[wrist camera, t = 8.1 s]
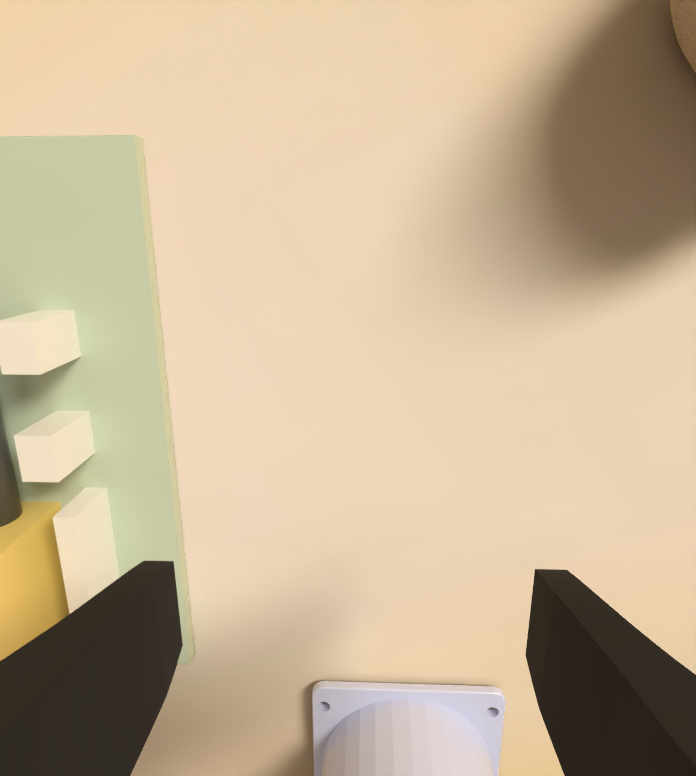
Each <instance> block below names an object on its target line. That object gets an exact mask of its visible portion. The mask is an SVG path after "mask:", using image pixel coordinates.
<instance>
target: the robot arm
mask: <svg viewBox="0 0 696 776" xmlns="http://www.w3.org/2000/svg"><path fill="white" fill-rule="evenodd" d="M182 646H183V643H182V634H181V624H180V615H179V606H178V597H177V588H176V579H175V569H174V561H143V562H141V563H140V564H138V565H136V566H135V567H134V568H132V569H131V570H129V571H128V572H126V573H125V574H124V575H122V576H121V577H120V578H118V579H117V580H115V581H114V582H113V583H111V584H110V585H109V586H107V587H106V588H105V589H103V590H102V591H101V592H99V593H98V594H97V595H95V596H94V597H92V598H91V599H90V600H88V601H87V602H86V603H84V604H83V605H81V606H80V607H79V608H77V609H76V610H75V611H73V612H72V613H70V614H69V615H68V616H66V617H65V618H63V619H62V620H61V621H59V622H58V623H56V624H55V625H54V626H52V627H51V628H49V629H48V630H46V631H45V632H43V633H42V634H40V635H39V636H37V637H36V638H34V639H33V640H31V641H30V642H28V643H27V644H25V645H24V646H22V647H21V648H19V649H18V650H16V651H15V652H13V653H12V654H10V655H9V656H7V657H6V658H4V659H3V660H1V661H0V776H130V775H131V772H132V770H133V768H134V766H135V764H136V762H137V760H138V757H139V755H140V753H141V751H142V749H143V747H144V744H145V742H146V740H147V738H148V736H149V734H150V731H151V729H152V727H153V725H154V723H155V720H156V718H157V716H158V714H159V712H160V709H161V707H162V705H163V703H164V700H165V698H166V696H167V693H168V690H169V687H170V684H171V681H172V678H173V675H174V672H175V669H176V665H177V662H178V659H179V656H180V652H181V649H182ZM526 658H527V662H528V666H529V671H530V675H531V679H532V683H533V687H534V691H535V694H536V698H537V702H538V706H539V709H540V712H541V714H542V717H543V720H544V723H545V725H546V728H547V730H548V733H549V736H550V738H551V741H552V744H553V746H554V749H555V752H556V754H557V757H558V759H559V762H560V765H561V767H562V770H563V772H564V775H565V776H696V675H695V674H694V673H692V672H691V671H690V670H688V669H687V668H686V667H684V666H683V665H682V664H680V663H679V662H678V661H676V660H675V659H674V658H673V657H671V656H670V655H669V654H667V653H666V652H665V651H664V650H662V649H661V648H660V647H659V646H657V645H656V644H655V643H654V642H652V641H651V640H650V639H649V638H647V637H646V636H645V635H644V634H642V633H641V632H640V631H639V630H638V629H636V628H635V627H634V626H633V625H632V624H630V623H629V622H628V621H627V620H626V619H624V618H623V617H622V616H621V615H620V614H618V613H617V612H616V611H615V610H614V609H613V608H611V607H610V606H609V605H608V604H607V603H606V602H604V601H603V600H602V599H601V598H600V597H599V596H597V595H596V594H595V593H594V592H593V591H592V590H590V589H589V588H588V587H587V586H586V585H585V584H583V583H582V582H581V581H580V580H579V579H578V578H576V577H575V576H574V575H573V574H571V573H570V572H569V571H568V570H546V569H535V575H534V585H533V594H532V603H531V612H530V621H529V630H528V639H527V648H526ZM321 702H327V704H323V703H321ZM492 707H494V709H489V708H492ZM504 712H505V697H504V694H503V692H502V690H501V689H499V688H498V687H494V686H468V685H436V684H404V683H372V682H339V681H321V682H318V683H316V684H315V685H314V686H313V691H312V719H313V755H314V776H498V772H499V762H500V752H501V742H502V732H503V722H504Z"/></svg>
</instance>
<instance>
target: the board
mask: <svg viewBox="0 0 696 776" xmlns="http://www.w3.org/2000/svg"><path fill="white" fill-rule="evenodd" d="M0 408H1V413H2V417H3V422H4V427H5V431H6V436H7V441H8V445H9V450H10V455H11V459H12V464H13V468H14V473H15V478H16V482H17V487H18V492H19V496H20V501H21V502H60V505H61V510H60V511H59V512H58V513H57V514H56V515H55V516H54V517H52V518H53V523H54V529H55V535H56V540H57V546H58V552H59V557H60V563H61V568H62V574H63V580H64V585H65V591H66V596H67V602H68V608H69V613H72V612H73V611H75V610H76V609H77V608H79V607H80V606H81V605H83V604H84V603H86V602H87V601H88V600H90V599H91V598H92V597H94V596H95V595H97V594H98V593H99V592H101V591H102V590H103V589H105V588H106V587H107V586H109V585H110V584H111V583H113V582H114V581H115V580H117V579H118V578H120V577H121V576H122V575H124V574H125V573H126V572H128V571H129V570H131V569H132V568H134V567H135V566H136V565H138V564H140V563H141V562H143V561H174V569H175V579H176V588H177V597H178V606H179V615H180V624H181V634H182V643H183V646H182V649H181V652H180V656H179V659H178V662H177V664H190V663H191V661H192V659H193V656H194V654H195V651H194V641H193V631H192V621H191V612H190V602H189V592H188V582H187V573H186V563H185V553H184V543H183V533H182V524H181V514H180V504H179V494H178V484H177V475H176V465H175V455H174V445H173V435H172V426H171V416H170V406H169V396H168V386H167V377H166V367H165V357H164V347H163V338H162V328H161V318H160V308H159V298H158V289H157V279H156V269H155V259H154V249H153V240H152V230H151V220H150V210H149V200H148V191H147V181H146V171H145V161H144V151H143V142H142V138H140V137H138V136H135V135H104V136H6V137H0Z"/></svg>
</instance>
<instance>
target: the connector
mask: <svg viewBox="0 0 696 776" xmlns="http://www.w3.org/2000/svg"><path fill="white" fill-rule="evenodd" d="M60 510H61V505H60V502H21V501H20V496H19V492H18V487H17V482H16V478H15V473H14V468H13V464H12V459H11V455H10V450H9V445H8V441H7V436H6V431H5V427H4V422H3V417H2V413H1V408H0V661H1V660H3V659H4V658H6V657H7V656H9V655H10V654H12V653H13V652H15V651H16V650H18V649H19V648H21V647H22V646H24V645H25V644H27V643H28V642H30V641H31V640H33V639H34V638H36V637H37V636H39V635H40V634H42V633H43V632H45V631H46V630H48V629H49V628H51V627H52V626H54V625H55V624H56V623H58V622H59V621H61V620H62V619H63V618H65V617H66V616H68V615H69V614H70V613H69V608H68V602H67V596H66V591H65V585H64V580H63V574H62V568H61V563H60V557H59V552H58V546H57V540H56V535H55V529H54V523H53V518H52V517H54V516H55V515H56V514H57V513H58V512H59V511H60Z"/></svg>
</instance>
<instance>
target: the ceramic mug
mask: <svg viewBox="0 0 696 776" xmlns="http://www.w3.org/2000/svg"><path fill="white" fill-rule="evenodd" d="M670 11H671V17H672V22H673V27H674V30H675V34H676V37H677V41H678V44H679V46H680V48H681V50H682V52H683V54H684V55H685V57H686V59H687V60H688V62H689V64H690V65H691V67H692V69H693V70H694V72H695V73H696V0H670Z"/></svg>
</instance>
